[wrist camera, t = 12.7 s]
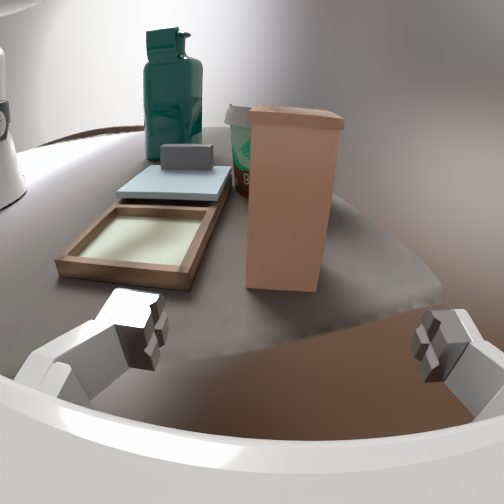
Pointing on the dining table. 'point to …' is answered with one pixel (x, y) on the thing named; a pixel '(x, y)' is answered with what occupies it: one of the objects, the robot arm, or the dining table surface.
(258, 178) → the canister
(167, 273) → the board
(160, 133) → the green bottle
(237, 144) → the food container
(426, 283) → the dining table surface
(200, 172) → the cover
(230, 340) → the dining table surface
